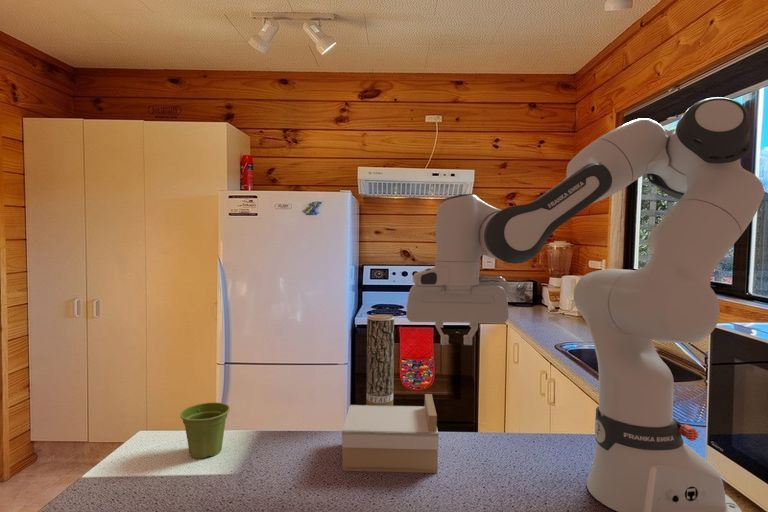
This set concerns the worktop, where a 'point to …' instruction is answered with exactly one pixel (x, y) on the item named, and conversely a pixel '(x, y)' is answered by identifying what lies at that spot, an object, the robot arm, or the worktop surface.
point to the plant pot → (205, 428)
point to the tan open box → (390, 460)
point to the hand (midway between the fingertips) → (456, 344)
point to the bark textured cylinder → (380, 359)
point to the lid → (391, 426)
